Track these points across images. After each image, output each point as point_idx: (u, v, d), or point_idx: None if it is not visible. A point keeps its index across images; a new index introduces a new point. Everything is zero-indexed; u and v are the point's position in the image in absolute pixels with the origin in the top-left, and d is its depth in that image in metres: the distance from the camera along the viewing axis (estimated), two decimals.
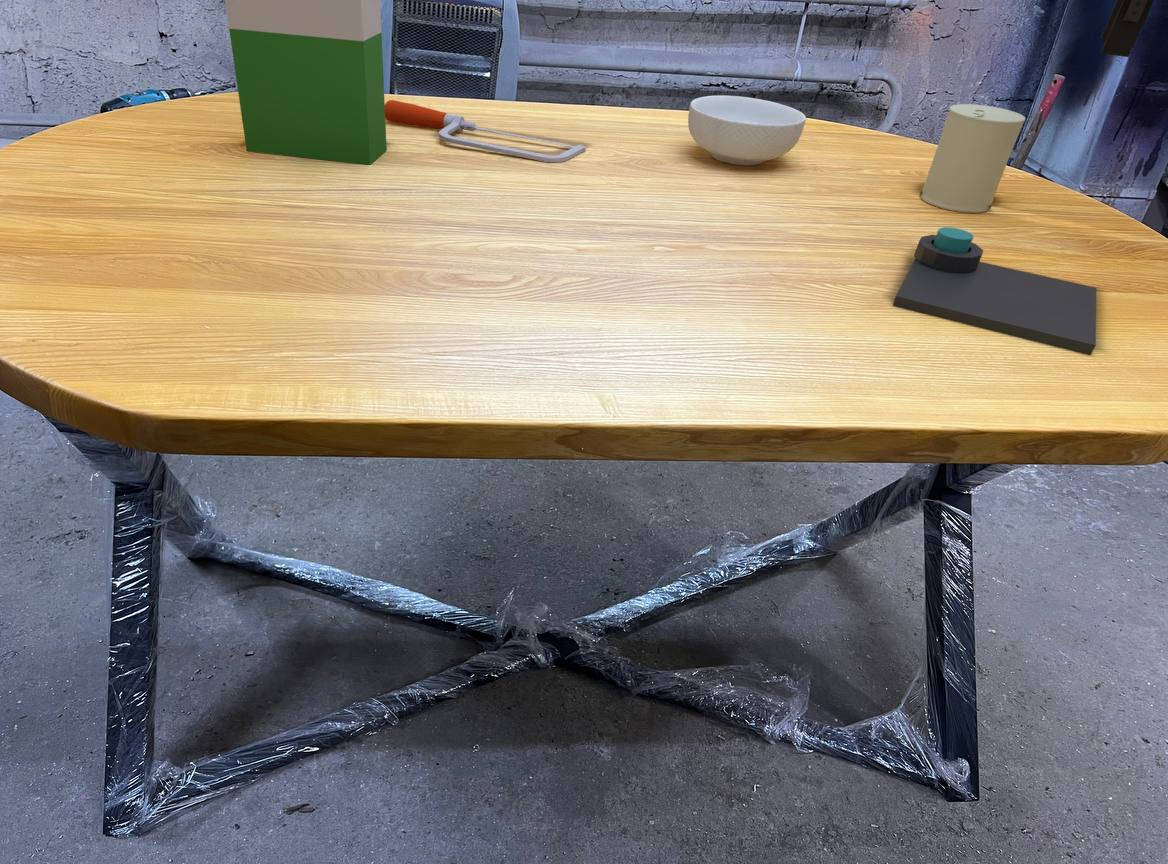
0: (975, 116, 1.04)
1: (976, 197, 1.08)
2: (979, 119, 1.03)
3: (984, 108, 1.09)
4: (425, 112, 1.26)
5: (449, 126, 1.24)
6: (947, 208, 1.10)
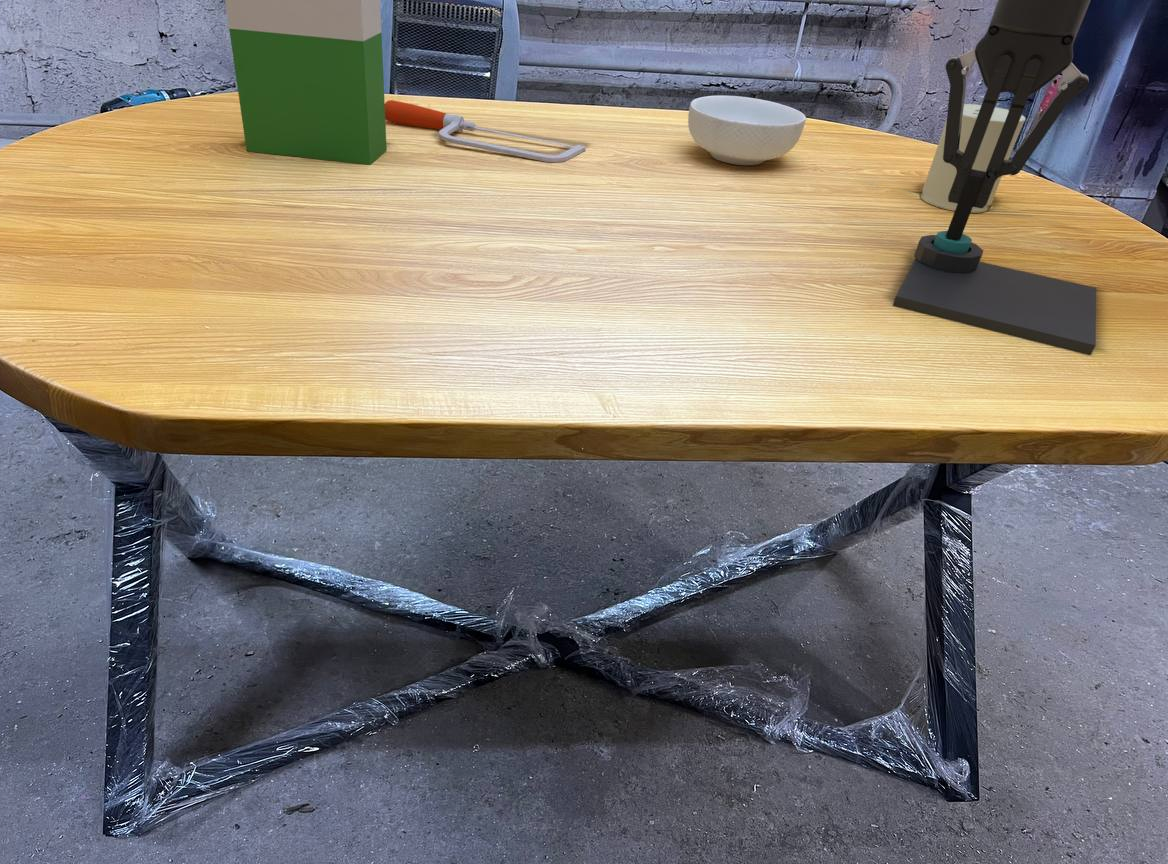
0: (975, 116, 1.04)
1: None
2: None
3: None
4: (425, 112, 1.26)
5: (449, 126, 1.24)
6: (947, 208, 1.10)
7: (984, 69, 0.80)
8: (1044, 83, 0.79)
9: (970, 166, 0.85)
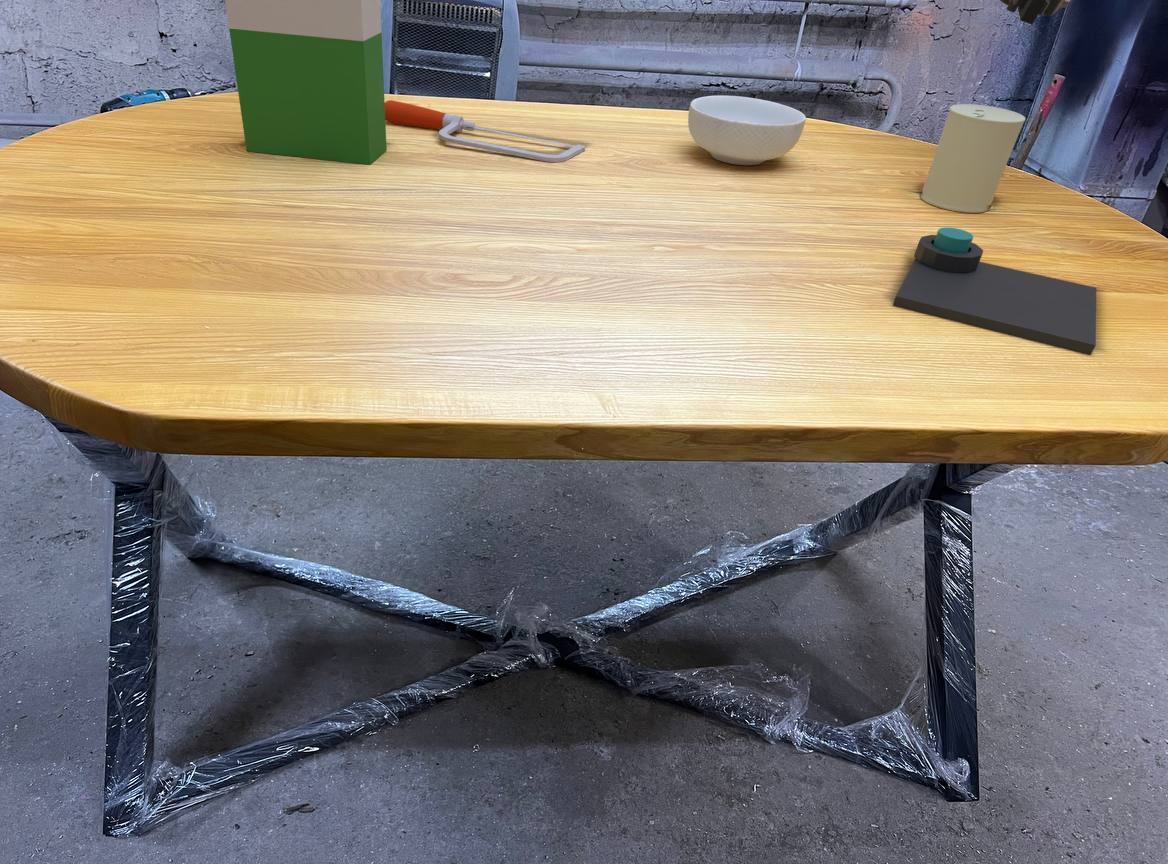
0: (975, 116, 1.04)
1: (976, 197, 1.08)
2: (979, 119, 1.03)
3: (984, 108, 1.09)
4: (424, 112, 1.26)
5: (448, 126, 1.24)
6: (947, 208, 1.10)
7: None
8: None
9: None
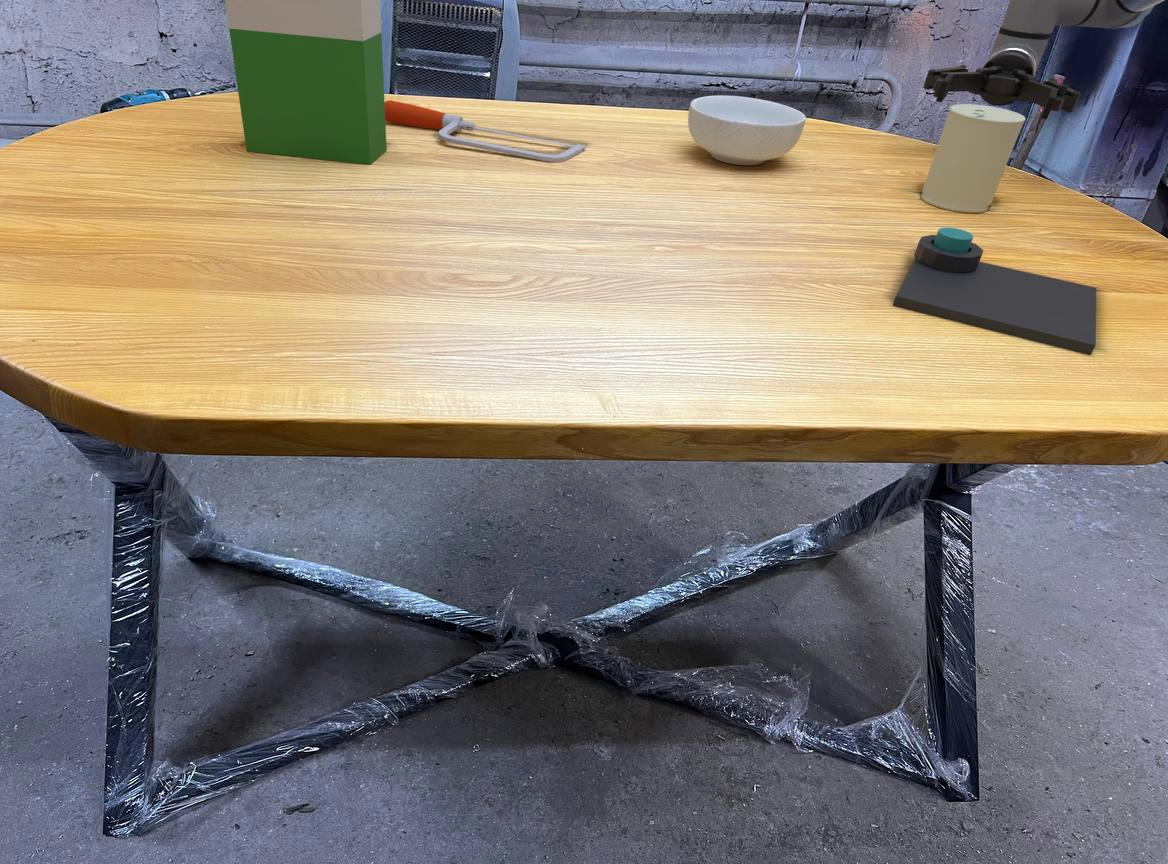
0: (975, 116, 1.04)
1: (976, 197, 1.08)
2: (979, 119, 1.03)
3: (984, 108, 1.09)
4: (424, 112, 1.26)
5: (448, 126, 1.24)
6: (947, 208, 1.10)
7: (1019, 94, 1.23)
8: (980, 87, 1.24)
9: None
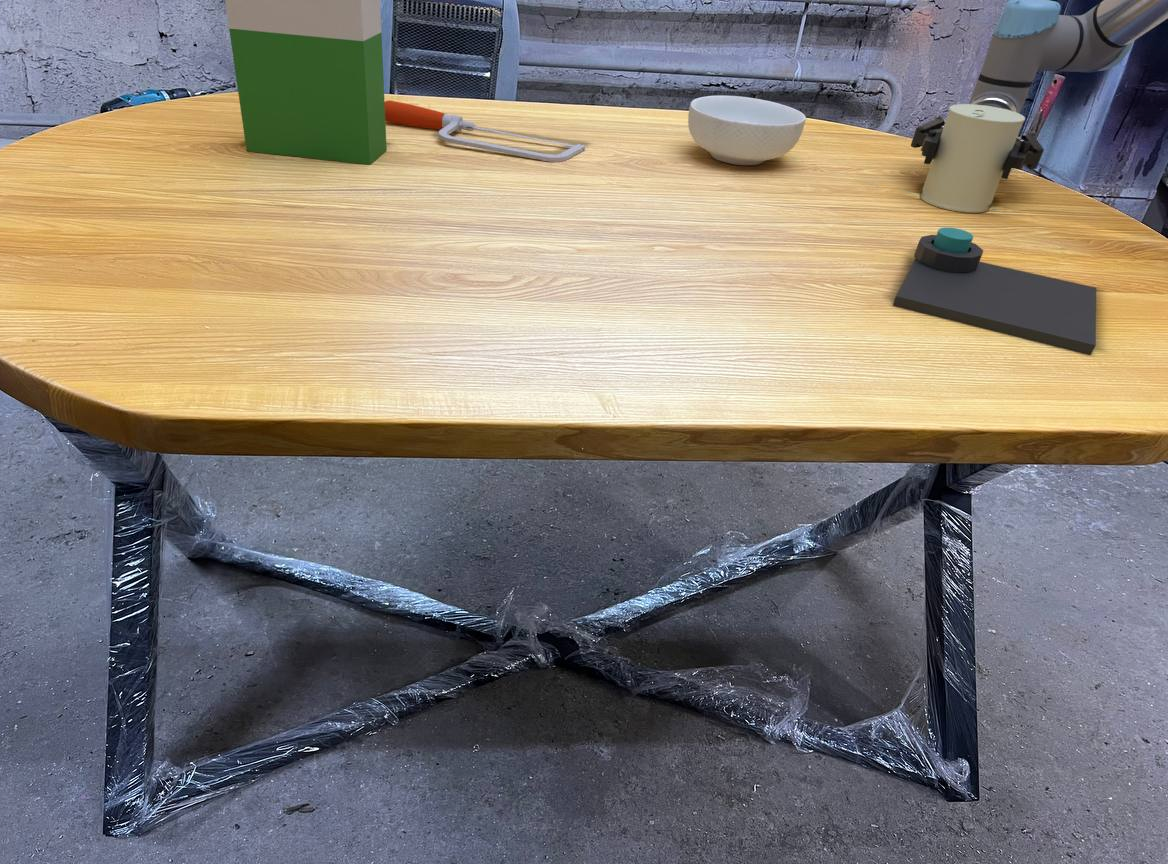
0: (975, 116, 1.04)
1: (975, 197, 1.08)
2: (979, 119, 1.03)
3: (984, 108, 1.09)
4: (424, 112, 1.26)
5: (448, 126, 1.24)
6: (947, 208, 1.10)
7: None
8: None
9: None
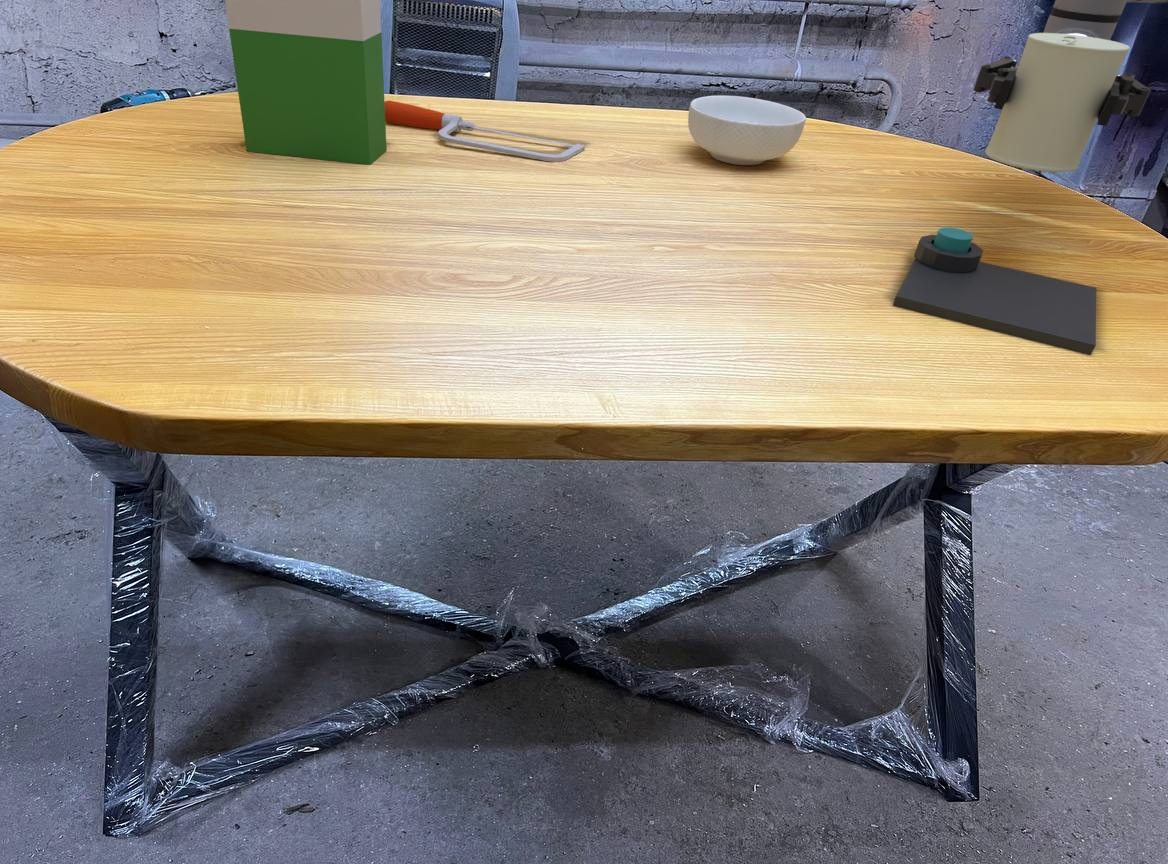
0: (1065, 43, 0.80)
1: (1061, 152, 0.84)
2: (1071, 47, 0.79)
3: None
4: (423, 112, 1.26)
5: (448, 126, 1.24)
6: (1023, 166, 0.86)
7: None
8: None
9: None
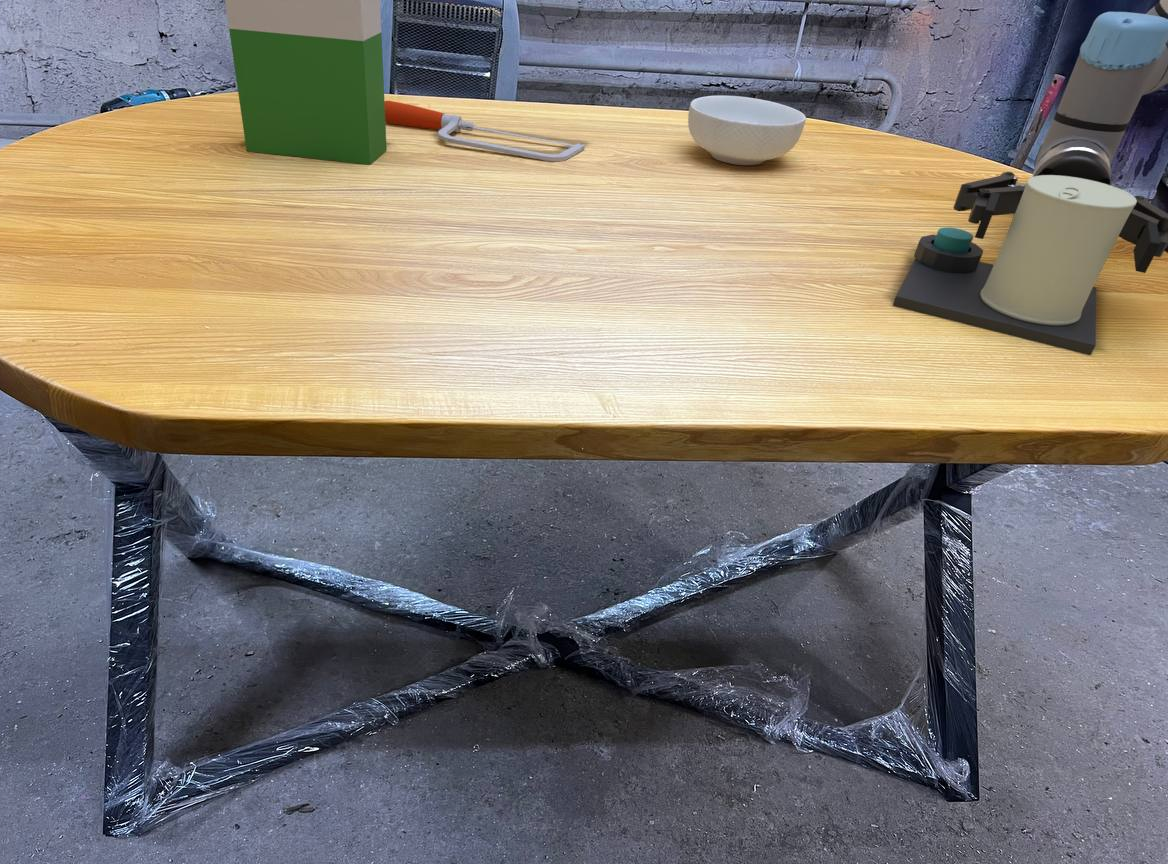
0: (1067, 198, 0.73)
1: (1062, 306, 0.78)
2: (1073, 203, 0.73)
3: (1074, 182, 0.78)
4: (423, 112, 1.26)
5: (447, 126, 1.24)
6: (1021, 318, 0.80)
7: None
8: None
9: None
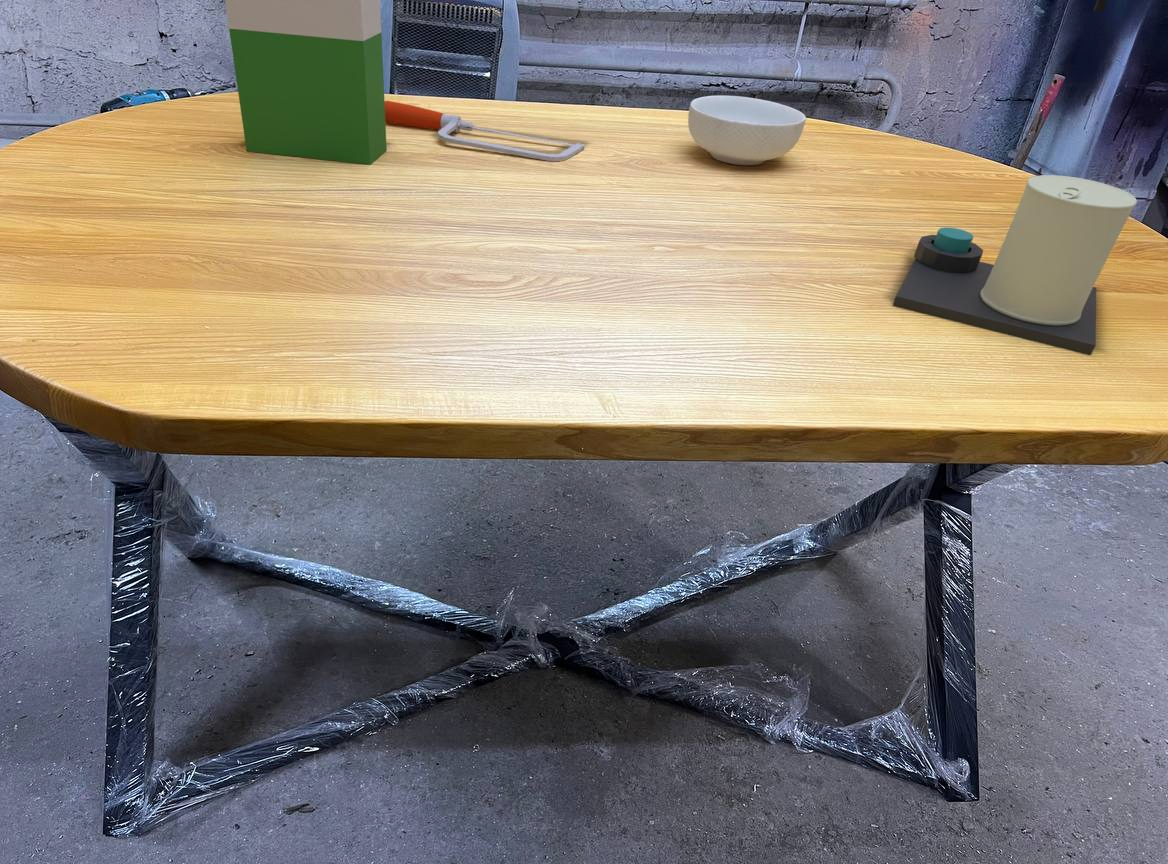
0: (1067, 198, 0.73)
1: (1062, 306, 0.78)
2: (1073, 203, 0.73)
3: (1074, 182, 0.78)
4: (422, 112, 1.26)
5: (447, 126, 1.24)
6: (1021, 318, 0.80)
7: None
8: None
9: None
